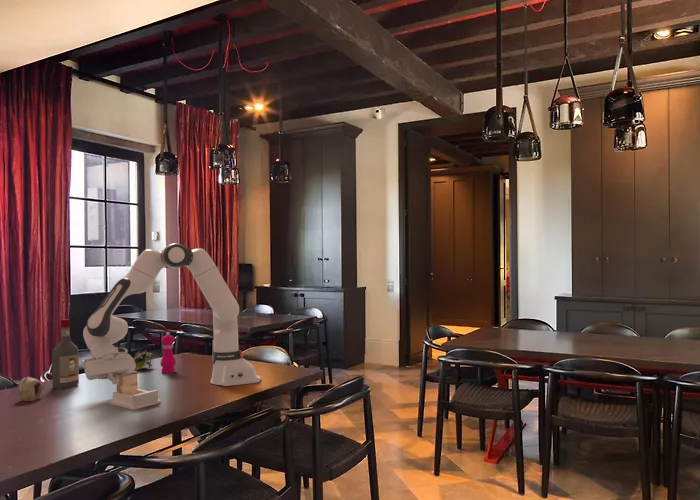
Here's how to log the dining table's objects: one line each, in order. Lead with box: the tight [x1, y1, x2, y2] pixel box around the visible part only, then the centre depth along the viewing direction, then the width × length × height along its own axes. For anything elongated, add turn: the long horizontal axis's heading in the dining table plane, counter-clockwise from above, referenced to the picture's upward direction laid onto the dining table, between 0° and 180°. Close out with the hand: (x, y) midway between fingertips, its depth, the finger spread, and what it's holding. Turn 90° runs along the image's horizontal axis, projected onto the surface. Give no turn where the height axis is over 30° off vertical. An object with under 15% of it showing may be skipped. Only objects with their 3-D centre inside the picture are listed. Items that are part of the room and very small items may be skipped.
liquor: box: [51, 318, 80, 390], centre depth 243 cm, size 9×9×30 cm
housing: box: [107, 388, 162, 411], centre depth 214 cm, size 18×12×5 cm
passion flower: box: [133, 350, 154, 371], centre depth 278 cm, size 11×11×12 cm
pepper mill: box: [160, 331, 176, 374], centre depth 271 cm, size 7×7×20 cm
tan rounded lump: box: [16, 376, 45, 402], centre depth 221 cm, size 9×8×10 cm
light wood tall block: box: [116, 370, 139, 396], centre depth 217 cm, size 5×6×10 cm
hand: (117, 382), depth 221 cm, fingers closed
